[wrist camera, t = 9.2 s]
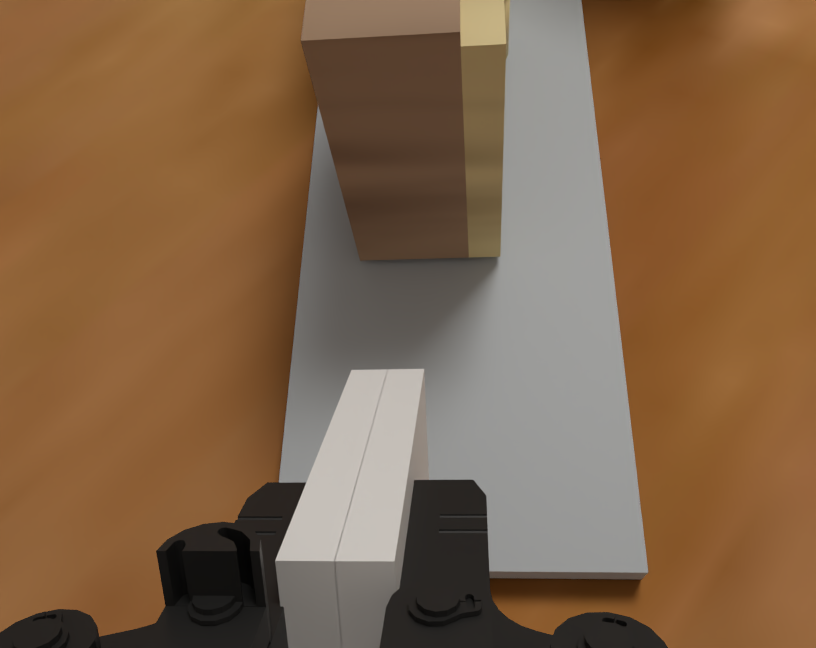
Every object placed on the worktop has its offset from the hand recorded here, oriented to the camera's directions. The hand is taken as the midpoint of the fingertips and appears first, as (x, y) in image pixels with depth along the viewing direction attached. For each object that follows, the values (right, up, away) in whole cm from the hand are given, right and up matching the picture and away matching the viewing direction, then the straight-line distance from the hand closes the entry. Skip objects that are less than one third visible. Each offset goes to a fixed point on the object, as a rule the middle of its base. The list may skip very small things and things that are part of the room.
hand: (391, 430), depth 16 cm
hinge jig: (+2, +8, +12) cm, 15 cm away
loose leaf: (+2, +9, +11) cm, 14 cm away
